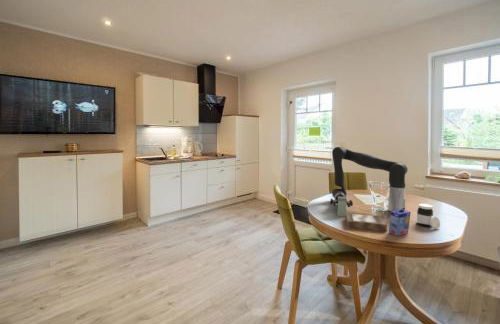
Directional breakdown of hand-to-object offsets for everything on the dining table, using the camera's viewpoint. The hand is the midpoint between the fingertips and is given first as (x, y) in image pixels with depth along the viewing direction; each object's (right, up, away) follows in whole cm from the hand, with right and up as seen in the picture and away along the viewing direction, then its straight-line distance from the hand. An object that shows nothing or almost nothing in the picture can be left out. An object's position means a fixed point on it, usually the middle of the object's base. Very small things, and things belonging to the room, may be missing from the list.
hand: (341, 205), depth 164 cm
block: (0, -7, +1) cm, 7 cm away
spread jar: (+44, -9, -18) cm, 48 cm away
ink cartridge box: (+21, -10, -28) cm, 36 cm away
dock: (+7, -9, -17) cm, 20 cm away
